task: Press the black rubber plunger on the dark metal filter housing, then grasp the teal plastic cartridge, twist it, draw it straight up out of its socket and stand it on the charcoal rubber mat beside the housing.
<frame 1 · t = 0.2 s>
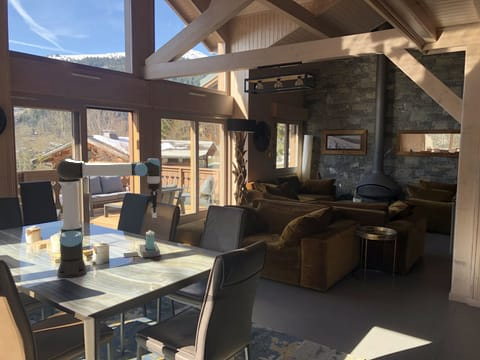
hand: (154, 215, 242), 28 cm above the table, fingers open, 13 cm apart
housing: (149, 253, 253), on the table
mat: (131, 255, 249), on the table
cartridge: (150, 254, 249), resting in housing
plunger: (148, 242, 257), point 6 cm above the table, slide at 0.0 cm
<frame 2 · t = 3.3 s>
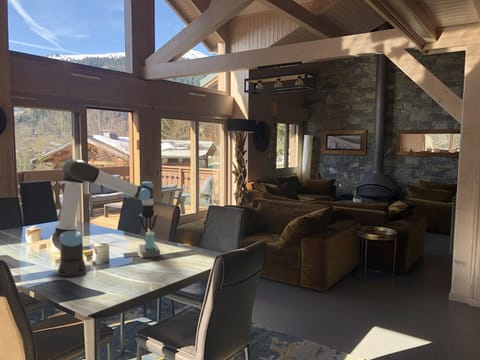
hand: (148, 238, 257), 9 cm above the table, fingers closed
plunger: (148, 244, 257), point 5 cm above the table, slide at 0.9 cm, touching gripper
everything else where it was.
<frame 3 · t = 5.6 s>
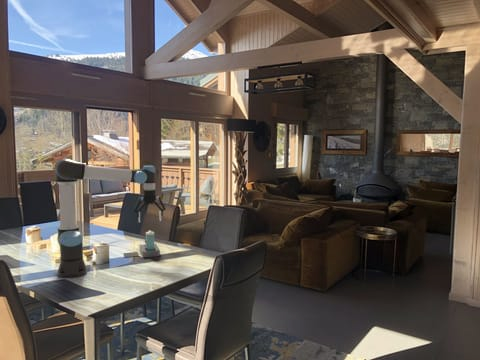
hand: (150, 221, 247), 23 cm above the table, fingers open, 13 cm apart
plunger: (148, 245, 257), point 4 cm above the table, slide at 1.6 cm
everything else where it was.
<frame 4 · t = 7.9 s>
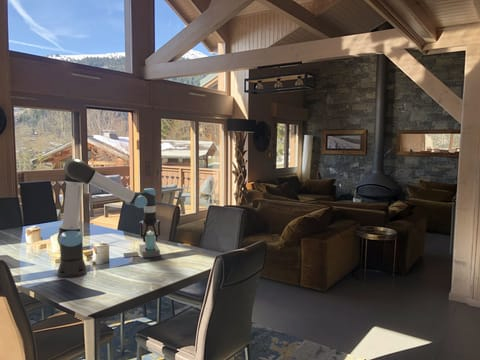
hand: (150, 246, 249), 6 cm above the table, fingers closed on cartridge, 5 cm apart
cartridge: (150, 254, 249), resting in housing, touching gripper
everything else where it was.
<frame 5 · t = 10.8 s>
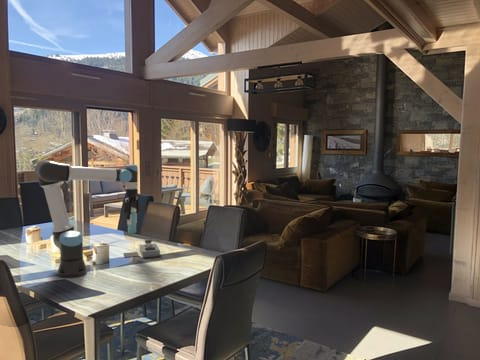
hand: (131, 223, 246), 21 cm above the table, fingers closed on cartridge, 5 cm apart
cartridge: (132, 232, 247), point 16 cm above the table, touching gripper
everything else where it was.
when the fingers open (8 cm above the table, at t = 13.8 s): cartridge drops 1 cm, resting on mat.
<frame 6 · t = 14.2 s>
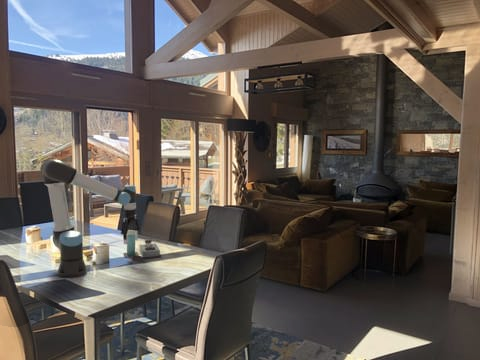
hand: (130, 242, 248), 9 cm above the table, fingers open, 10 cm apart
cartridge: (131, 254, 249), resting on mat
everything else where it was.
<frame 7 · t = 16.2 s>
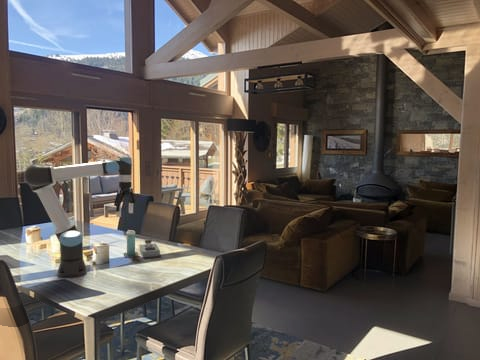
hand: (124, 214, 237), 29 cm above the table, fingers open, 13 cm apart
nothing on the table moved.
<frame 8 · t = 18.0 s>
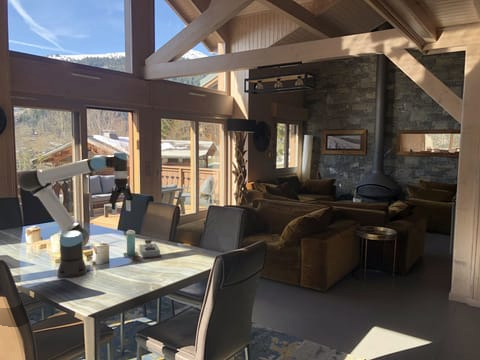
hand: (121, 212, 228), 32 cm above the table, fingers open, 13 cm apart
nothing on the table moved.
at the end: plunger slide at 1.6 cm; cartridge inside the target area on the mat (0.0 cm from its centre), point 0.4 cm above the mat's base; cartridge tilted 1° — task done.
